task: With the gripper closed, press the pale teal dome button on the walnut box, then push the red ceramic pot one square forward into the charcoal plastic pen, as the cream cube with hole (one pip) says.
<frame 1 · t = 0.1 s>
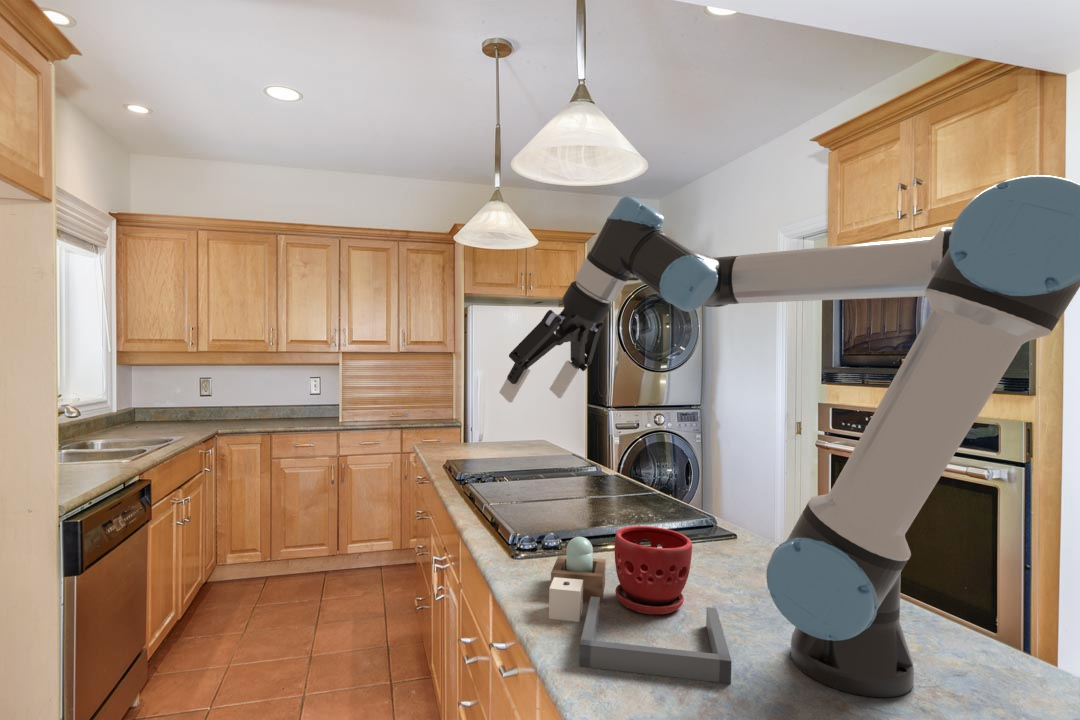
hand: (531, 395, 101), 36 cm above the countertop, tool tilted 35°, fingers open, 13 cm apart
button box: (578, 590, 106), on the countertop
dome button: (579, 556, 106), point 6 cm above the countertop, slide at 0.0 cm
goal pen: (652, 642, 87), on the countertop
plant pot: (651, 605, 101), on the countertop
cream cube with hole: (566, 614, 97), on the countertop
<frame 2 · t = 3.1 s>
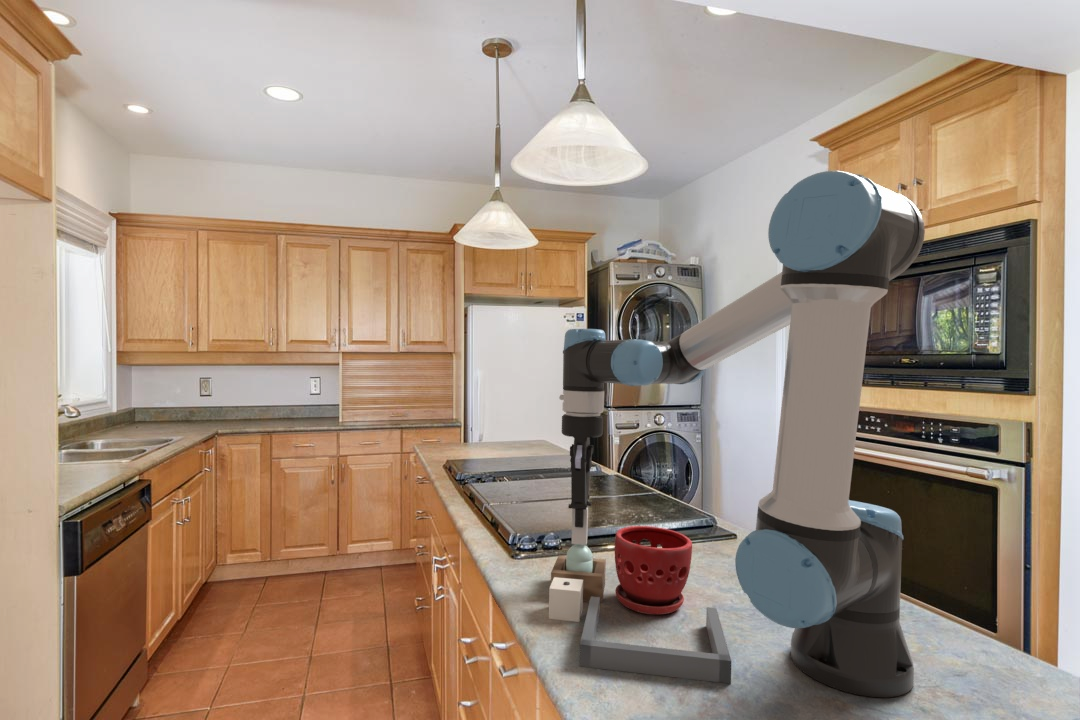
hand: (579, 542, 106), 9 cm above the countertop, tool pointing down, fingers closed
dome button: (579, 563, 106), point 5 cm above the countertop, slide at 1.4 cm, touching gripper
everything else where it was.
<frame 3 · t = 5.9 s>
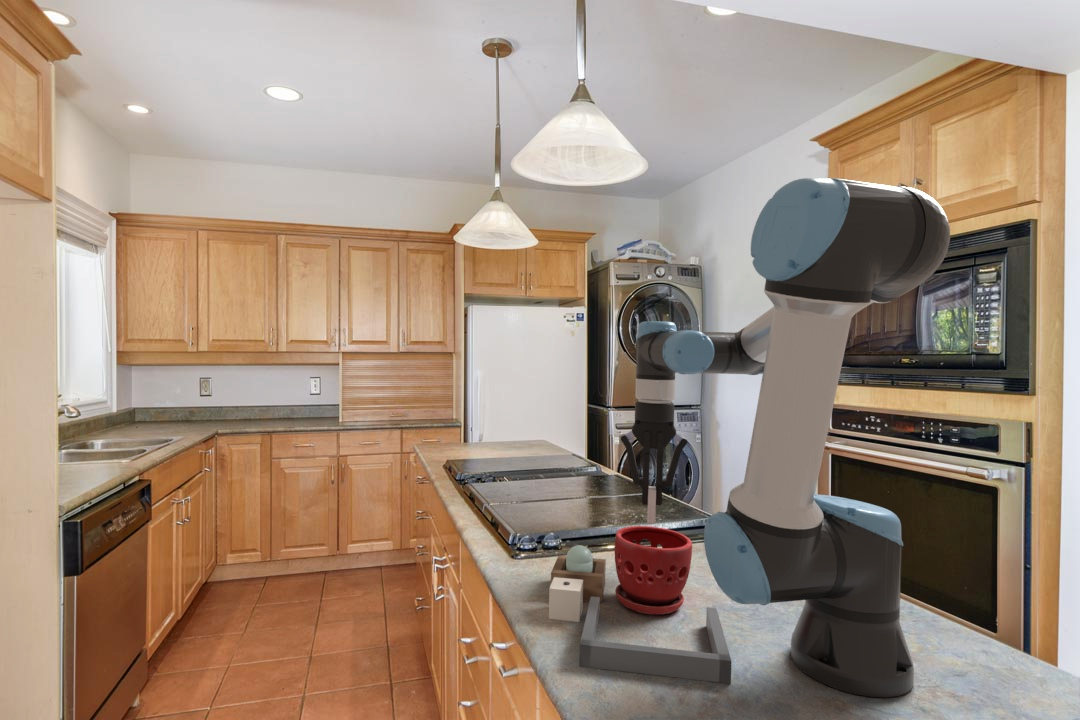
hand: (651, 521, 114), 11 cm above the countertop, tool pointing down, fingers closed
dome button: (579, 564, 106), point 5 cm above the countertop, slide at 1.6 cm
everything else where it was.
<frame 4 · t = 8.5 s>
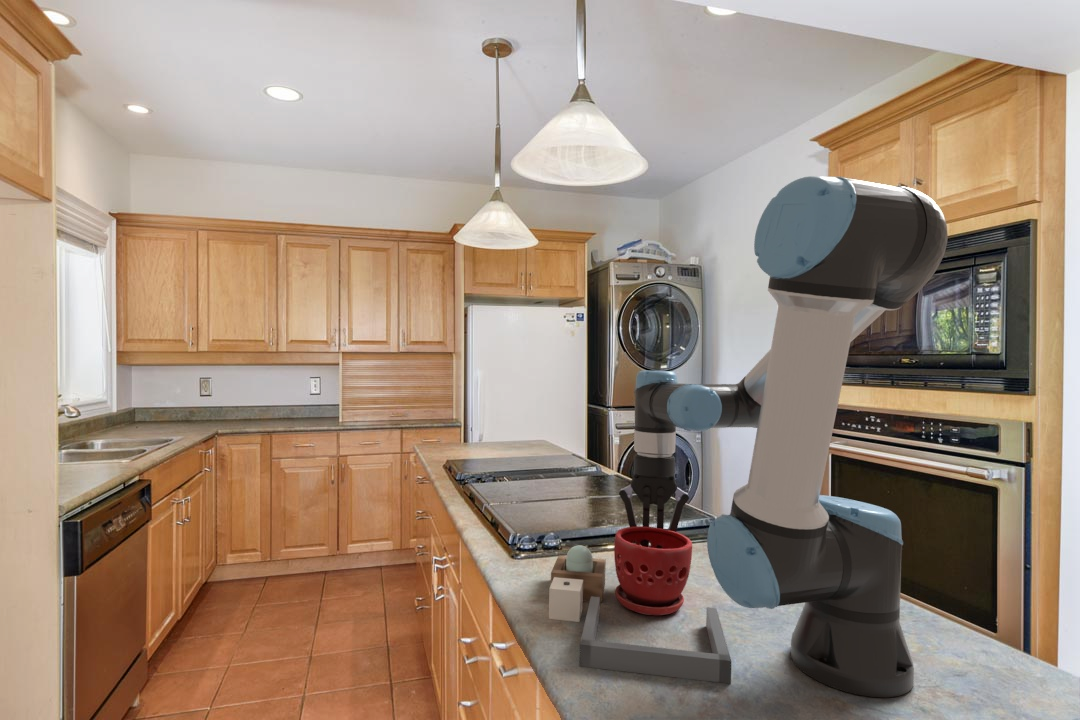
hand: (651, 580, 108), 1 cm above the countertop, tool pointing down, fingers closed
plant pot: (651, 606, 101), on the countertop, touching gripper
everything else where it was.
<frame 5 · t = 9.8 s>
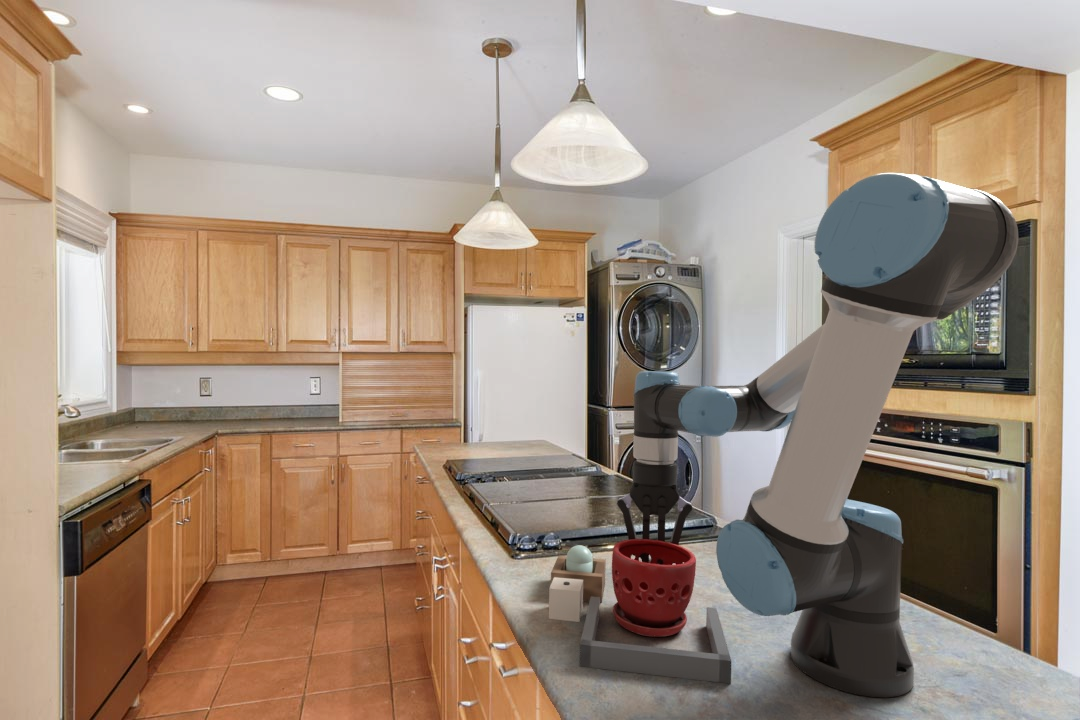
hand: (652, 596, 101), 1 cm above the countertop, tool pointing down, fingers closed
plant pot: (651, 625, 93), on the countertop, touching gripper
everything else where it was.
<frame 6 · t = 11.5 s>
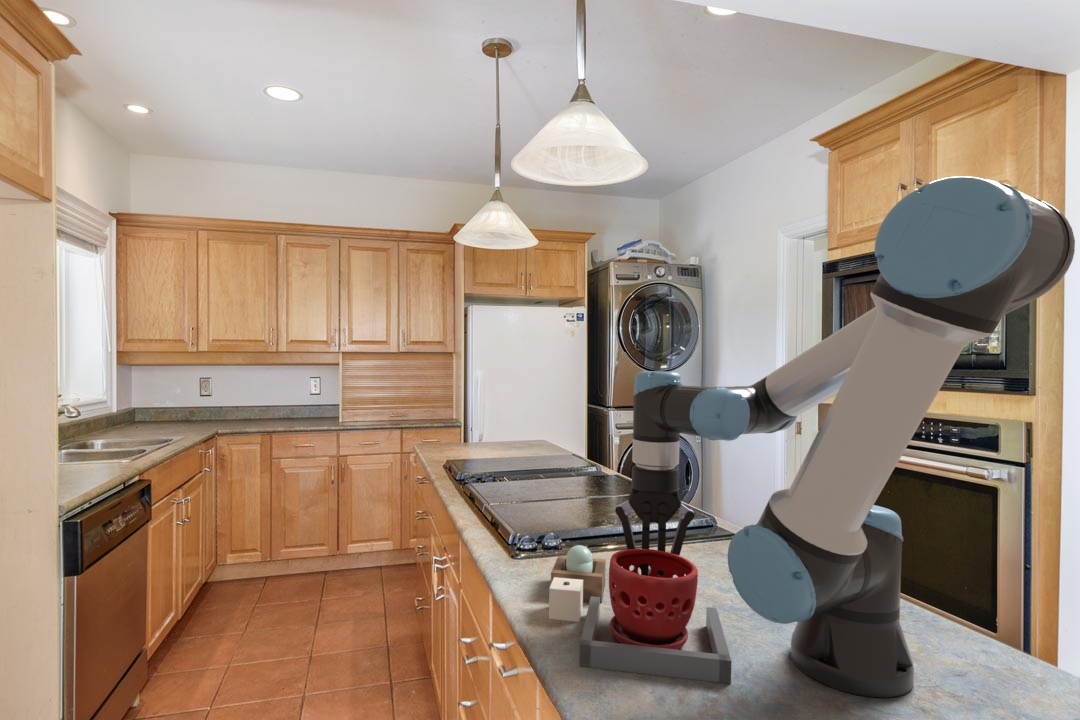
hand: (651, 608, 96), 1 cm above the countertop, tool pointing down, fingers closed
plant pot: (651, 641, 88), on the countertop, touching gripper
everything else where it was.
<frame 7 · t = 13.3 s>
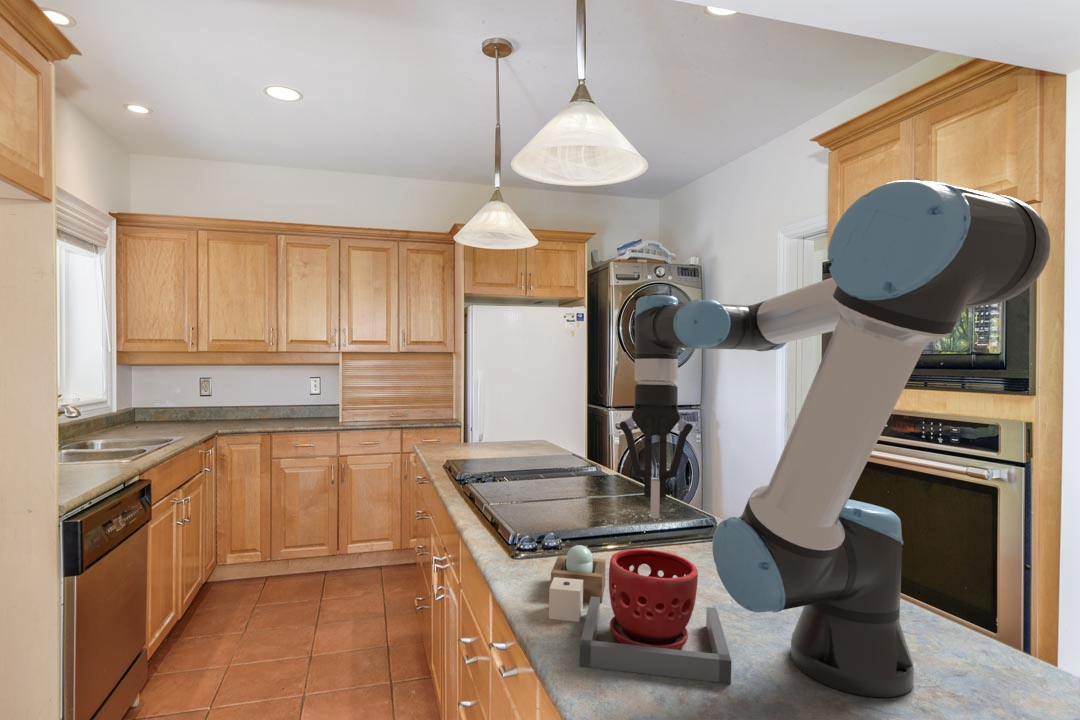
hand: (654, 515, 104), 15 cm above the countertop, tool pointing down, fingers closed
plant pot: (651, 641, 88), on the countertop
everything else where it was.
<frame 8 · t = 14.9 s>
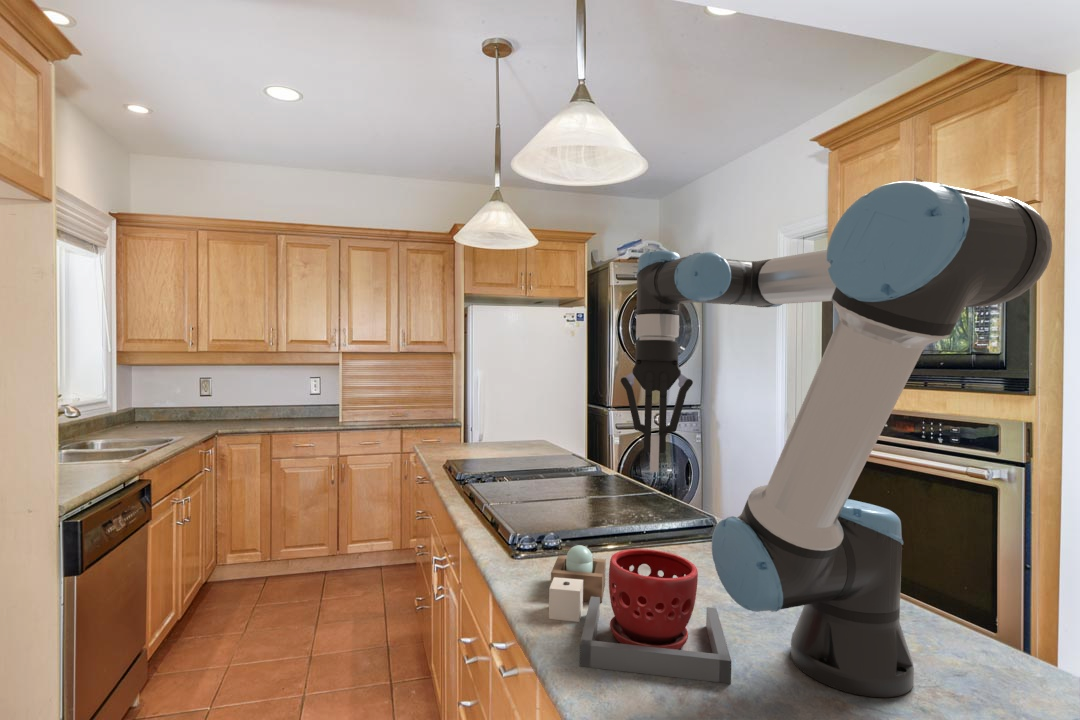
hand: (654, 470, 105), 22 cm above the countertop, tool pointing down, fingers closed
nothing on the countertop moved.
at the end: plant pot inside the target area (2.8 cm from its centre), on the countertop; plant pot tilted 0°; dome button slide at 1.6 cm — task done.
